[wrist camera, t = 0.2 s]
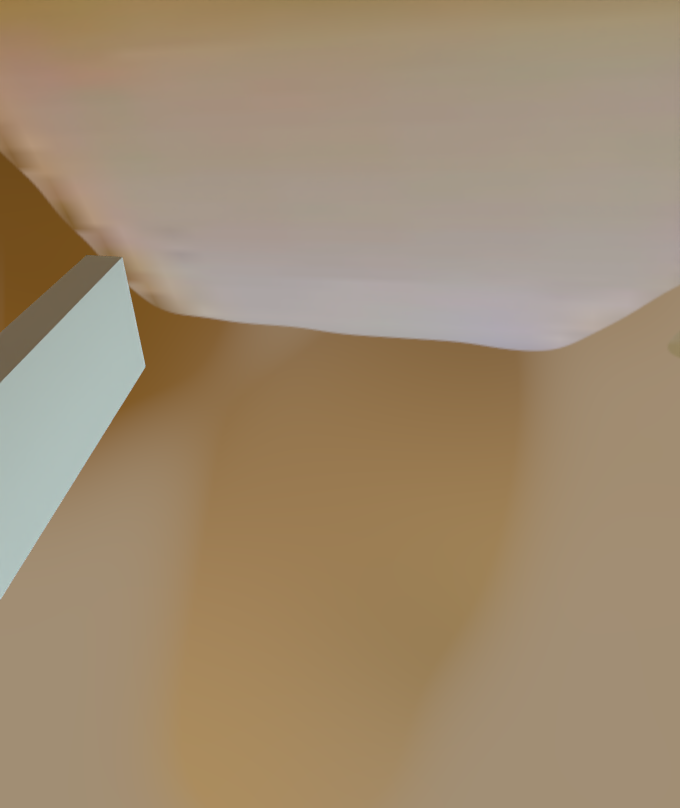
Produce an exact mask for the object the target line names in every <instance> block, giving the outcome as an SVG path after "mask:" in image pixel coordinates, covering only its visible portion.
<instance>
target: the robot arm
mask: <svg viewBox="0 0 680 808" xmlns="http://www.w3.org/2000/svg"><path fill="white" fill-rule="evenodd" d="M144 368H145V362H144V357H143V353H142V348H141V343H140V338H139V334H138V329H137V324H136V319H135V315H134V310H133V306H132V301H131V296H130V291H129V286H128V282H127V277H126V272H125V268H124V263H123V258H122V257H112V256H92V255H86V256H85V257H84V258H83V259H82V260H81V261H80V262H78V263H77V264H76V265H75V266H74V267H73V268H72V269H71V270H70V271H68V272H67V273H66V274H65V275H64V276H63V277H62V278H61V279H60V280H58V281H57V282H56V283H55V284H54V285H53V286H52V287H51V288H50V289H48V290H47V291H46V292H45V293H44V294H43V295H42V296H41V297H39V299H37V300H36V301H35V302H34V303H33V304H32V305H31V306H29V307H28V308H27V310H25V311H24V312H23V313H22V314H21V315H20V316H19V317H18V318H16V319H15V320H14V321H13V322H12V323H11V324H9V325H8V326H7V327H6V328H5V329H4V330H3V331H2V332H1V333H0V599H1V598H2V596H3V595H4V593H5V591H6V590H7V588H8V586H9V585H10V583H11V582H12V580H13V578H14V577H15V575H16V574H17V572H18V570H19V569H20V567H21V566H22V564H23V562H24V561H25V559H26V558H27V556H28V554H29V553H30V551H31V549H32V548H33V546H34V545H35V543H36V542H37V540H38V538H39V537H40V535H41V533H42V532H43V530H44V529H45V527H46V526H47V524H48V522H49V521H50V519H51V518H52V516H53V514H54V513H55V511H56V509H57V508H58V506H59V505H60V503H61V501H62V500H63V498H64V497H65V495H66V493H67V492H68V490H69V489H70V487H71V485H72V484H73V482H74V480H75V479H76V477H77V476H78V474H79V473H80V471H81V469H82V468H83V466H84V465H85V463H86V461H87V460H88V458H89V456H90V455H91V453H92V452H93V450H94V448H95V447H96V445H97V444H98V442H99V440H100V439H101V437H102V436H103V434H104V432H105V431H106V429H107V428H108V426H109V424H110V423H111V421H112V420H113V418H114V416H115V414H116V413H117V411H118V410H119V408H120V407H121V405H122V404H123V402H124V400H125V399H126V397H127V395H128V394H129V392H130V390H131V389H132V387H133V386H134V384H135V382H136V381H137V379H138V378H139V376H140V374H141V373H142V371H143V370H144Z"/></svg>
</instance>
